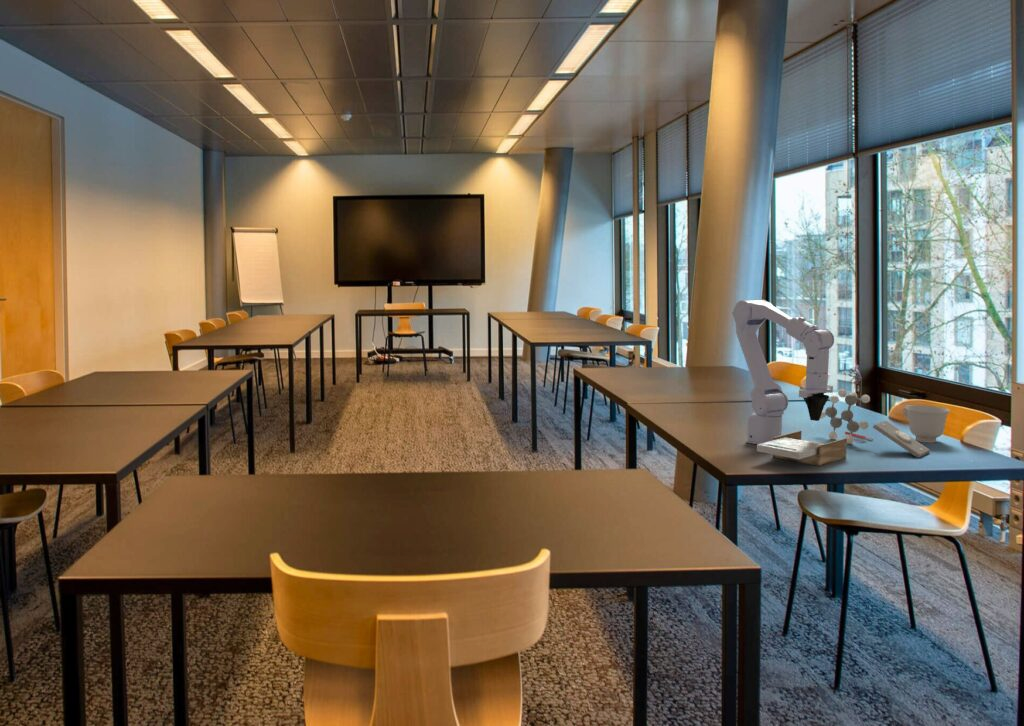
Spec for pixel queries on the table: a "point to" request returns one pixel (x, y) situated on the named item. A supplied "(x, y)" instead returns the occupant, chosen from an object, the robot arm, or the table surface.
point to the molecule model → (845, 415)
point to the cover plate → (790, 448)
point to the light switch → (901, 439)
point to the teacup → (926, 421)
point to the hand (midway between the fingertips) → (814, 420)
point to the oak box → (826, 451)
